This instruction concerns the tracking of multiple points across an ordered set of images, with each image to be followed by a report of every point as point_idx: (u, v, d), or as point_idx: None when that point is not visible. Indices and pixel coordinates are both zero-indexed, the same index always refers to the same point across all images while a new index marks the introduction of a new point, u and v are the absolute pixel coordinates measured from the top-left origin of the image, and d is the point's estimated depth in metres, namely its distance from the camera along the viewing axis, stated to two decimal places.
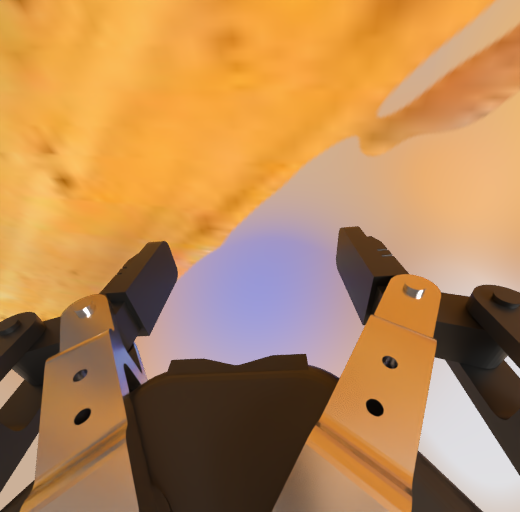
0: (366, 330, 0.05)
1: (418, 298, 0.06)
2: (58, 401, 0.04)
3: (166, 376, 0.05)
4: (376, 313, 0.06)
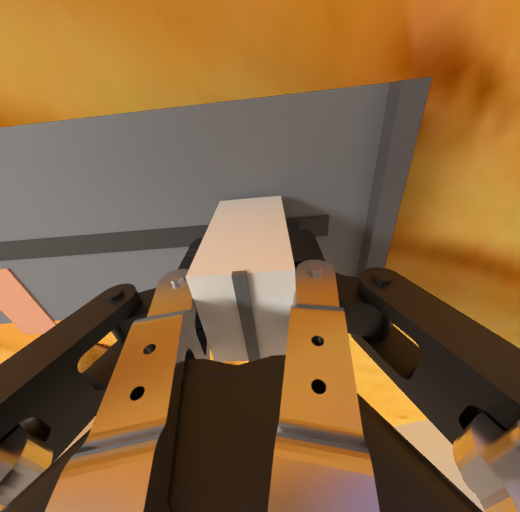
0: (292, 320, 0.05)
1: (313, 278, 0.07)
2: (127, 366, 0.05)
3: None
4: (294, 301, 0.06)
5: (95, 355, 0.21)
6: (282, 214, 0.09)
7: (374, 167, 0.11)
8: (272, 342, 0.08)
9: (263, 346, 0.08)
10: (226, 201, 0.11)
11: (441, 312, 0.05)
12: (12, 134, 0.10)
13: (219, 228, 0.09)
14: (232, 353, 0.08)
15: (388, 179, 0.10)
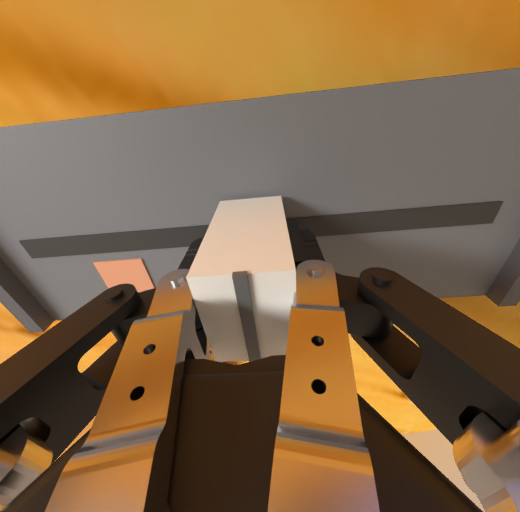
0: (292, 320, 0.05)
1: (313, 278, 0.07)
2: (127, 366, 0.05)
3: None
4: (294, 301, 0.06)
5: None
6: (282, 214, 0.09)
7: None
8: (272, 342, 0.08)
9: (263, 346, 0.08)
10: (226, 201, 0.11)
11: (441, 312, 0.05)
12: (203, 113, 0.10)
13: (220, 228, 0.09)
14: (232, 353, 0.08)
15: None
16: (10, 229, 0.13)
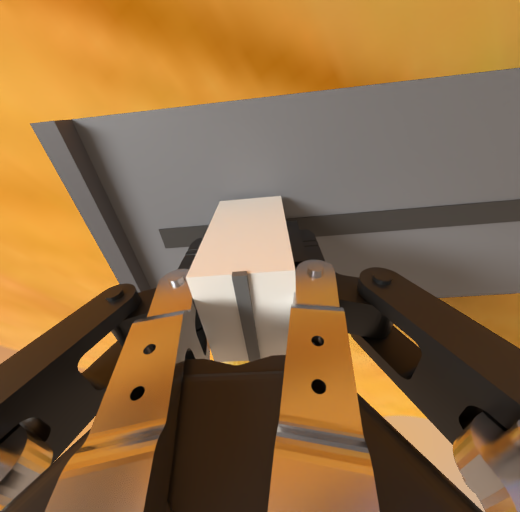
0: (292, 320, 0.05)
1: (313, 278, 0.07)
2: (127, 366, 0.05)
3: None
4: (294, 301, 0.06)
5: None
6: (282, 214, 0.09)
7: None
8: (272, 342, 0.08)
9: (263, 346, 0.08)
10: (226, 202, 0.11)
11: (441, 312, 0.05)
12: (405, 90, 0.09)
13: (220, 228, 0.09)
14: (232, 353, 0.08)
15: None
16: (152, 217, 0.12)
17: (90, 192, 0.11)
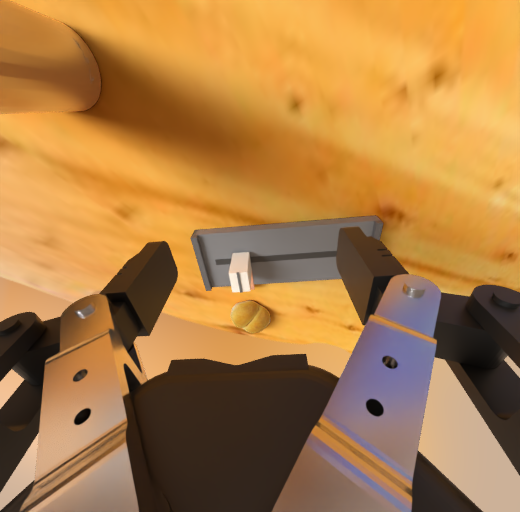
0: (366, 330, 0.05)
1: (418, 298, 0.06)
2: (58, 401, 0.04)
3: (166, 376, 0.05)
4: (376, 313, 0.06)
5: (255, 304, 0.50)
6: (248, 258, 0.39)
7: None
8: (244, 286, 0.38)
9: (242, 287, 0.38)
10: (234, 253, 0.41)
11: None
12: (277, 230, 0.39)
13: (233, 262, 0.39)
14: (236, 289, 0.38)
15: None
16: (213, 256, 0.42)
17: (200, 251, 0.41)
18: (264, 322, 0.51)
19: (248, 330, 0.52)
